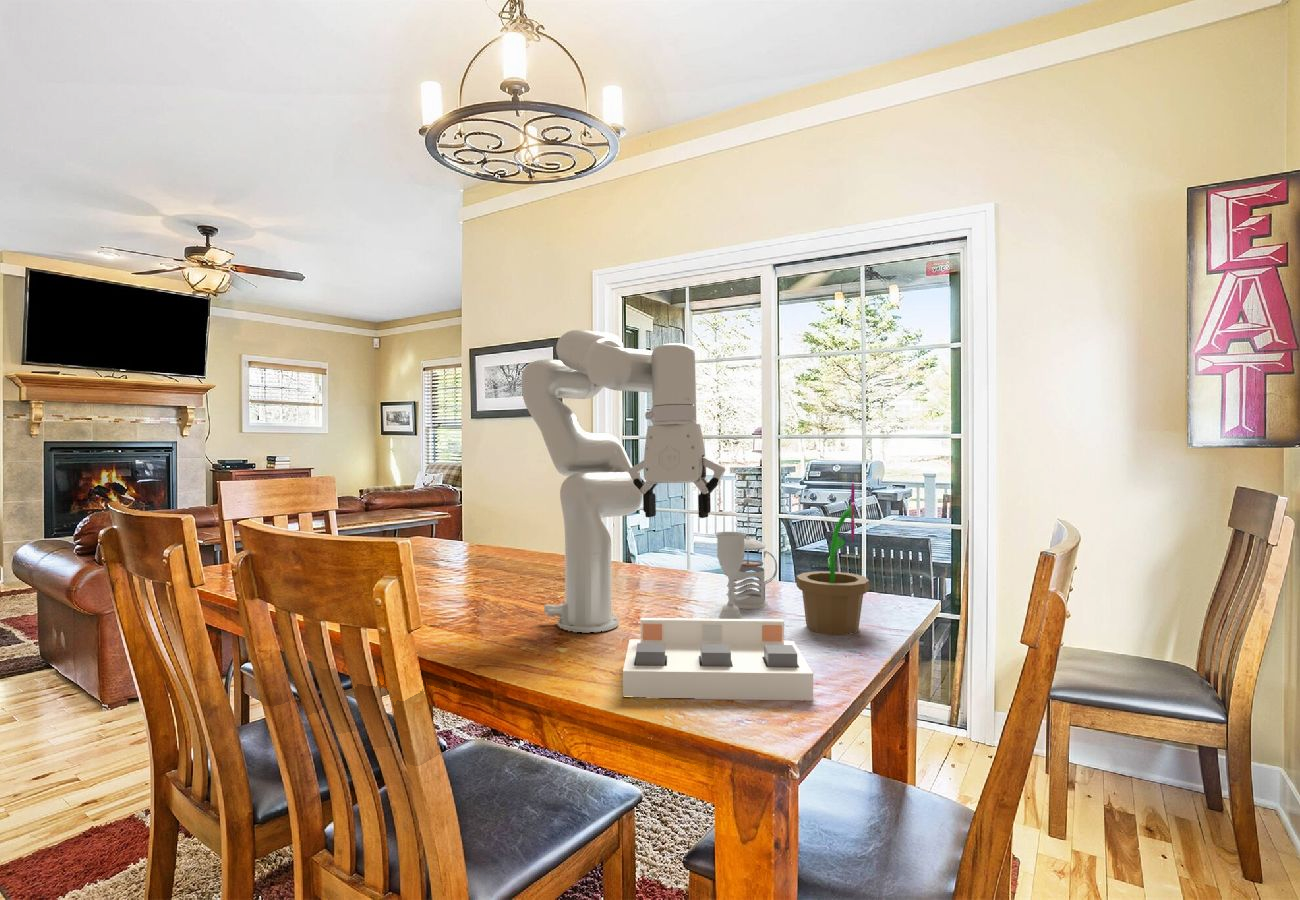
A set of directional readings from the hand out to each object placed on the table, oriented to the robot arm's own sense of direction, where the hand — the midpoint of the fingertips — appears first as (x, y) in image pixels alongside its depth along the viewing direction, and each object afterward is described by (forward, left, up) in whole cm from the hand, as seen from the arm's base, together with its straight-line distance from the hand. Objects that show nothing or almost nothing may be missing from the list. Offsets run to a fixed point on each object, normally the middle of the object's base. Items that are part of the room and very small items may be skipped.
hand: (676, 517), depth 115 cm
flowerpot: (+32, +23, -25) cm, 47 cm away
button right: (+16, -11, -22) cm, 29 cm away
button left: (-4, -11, -22) cm, 25 cm away
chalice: (+12, +31, -25) cm, 42 cm away
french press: (+18, +43, -25) cm, 53 cm away
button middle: (+6, -11, -22) cm, 25 cm away
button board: (+6, -8, -25) cm, 27 cm away
